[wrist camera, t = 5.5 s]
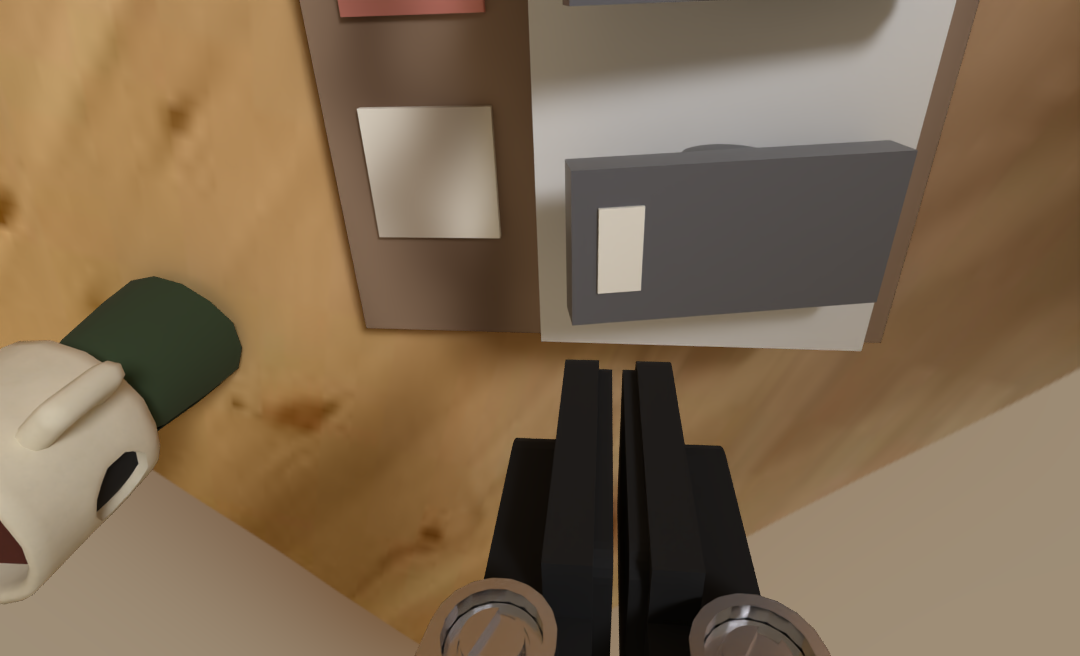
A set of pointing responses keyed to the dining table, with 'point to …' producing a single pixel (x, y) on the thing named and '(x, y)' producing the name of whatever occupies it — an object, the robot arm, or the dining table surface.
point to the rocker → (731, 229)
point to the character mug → (97, 417)
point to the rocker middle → (615, 2)
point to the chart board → (477, 158)
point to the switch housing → (719, 119)
